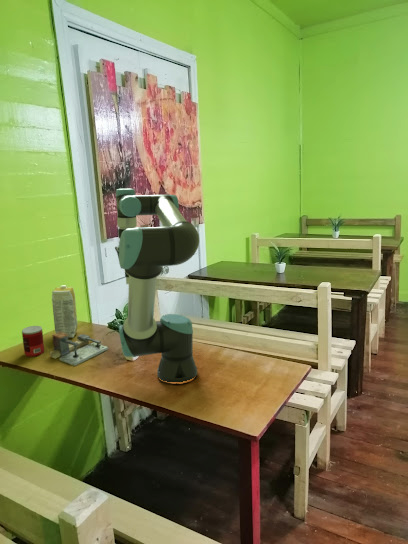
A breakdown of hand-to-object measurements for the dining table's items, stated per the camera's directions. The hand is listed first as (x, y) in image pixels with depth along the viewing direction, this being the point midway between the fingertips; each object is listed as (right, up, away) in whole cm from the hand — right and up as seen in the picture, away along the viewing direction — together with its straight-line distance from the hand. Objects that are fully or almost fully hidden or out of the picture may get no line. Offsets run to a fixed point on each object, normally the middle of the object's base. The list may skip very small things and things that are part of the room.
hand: (129, 283), depth 168 cm
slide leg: (-26, -30, 0) cm, 40 cm away
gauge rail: (-23, -29, +4) cm, 38 cm away
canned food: (-41, -30, +3) cm, 51 cm away
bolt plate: (-19, -30, +2) cm, 36 cm away
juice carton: (-34, -25, +21) cm, 47 cm away
